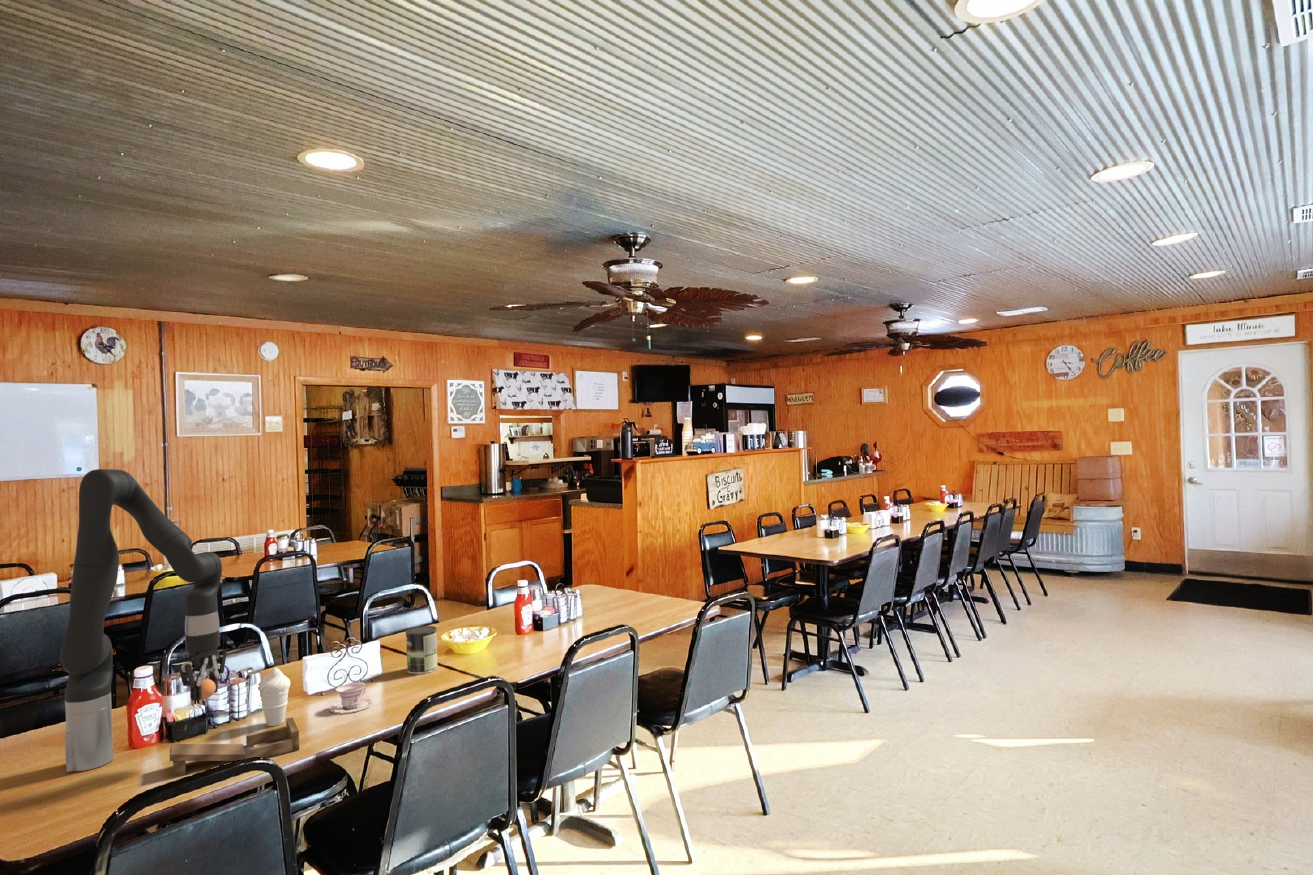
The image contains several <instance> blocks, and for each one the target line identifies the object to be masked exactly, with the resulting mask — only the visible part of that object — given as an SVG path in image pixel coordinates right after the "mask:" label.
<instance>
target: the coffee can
mask: <svg viewBox="0 0 1313 875" xmlns="http://www.w3.org/2000/svg"><path fill="white" fill-rule="evenodd" d="M437 630H438V629H437V627H436V626H432V625H422V626H415V627H411V628H409V629H407V630H405V639H406V660H407V661H406V665H407V667H406V668H407V673H408V674H409V673H410V675H424V674H425V673H426V674H429V672H430V673H432V672H435V671H437V670H438V669H439V667H438V646H437V645H438V642H437V638H438V637H437Z"/></svg>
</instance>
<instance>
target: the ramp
mask: <svg viewBox="0 0 1313 875" xmlns="http://www.w3.org/2000/svg"><path fill="white" fill-rule="evenodd" d="M244 746H245V745H244V744H243V743H242V744H241V743H238V744H237V743H171V745H170V748H169V762H172V765H173V778H176V777H180V776H181V777H182V776H186V773H187V772H186V762H200V761H201V762H204V761H205V762H213V761H214V762H215V761H217V762H218V761H219V762H222V761H223V762H225V761H226V762H229V761H232V762H233V761H234V762H235V761H236V762H238V761H237V760H240V759H243V758H244V759H246V758H245V751H244Z"/></svg>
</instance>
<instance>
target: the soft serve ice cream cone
mask: <svg viewBox="0 0 1313 875" xmlns="http://www.w3.org/2000/svg"><path fill="white" fill-rule="evenodd" d="M260 680H261V682H260V683H259V684H258V685H259V687H258V690H259V691H260V697H261V701H262V703H261V708H262V711H263V714H264V717H265V721H266V725H267V727H276V726H280V725H282V724H284V722H285V720H286V712H287V706H288V704H289V700H288V695H289V691H290V690H289V689H290V686H291V680H290V679H289V677H288V676H286V675H284V674H283V672H282V671H281V670H280V669H279V668H277V667H273V668H272V670H271V672H270V673H269V674H267V675H265V676H264V677H263V678H261V679H260Z"/></svg>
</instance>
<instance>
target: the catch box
mask: <svg viewBox="0 0 1313 875" xmlns="http://www.w3.org/2000/svg"><path fill="white" fill-rule="evenodd" d="M285 720H286V721H285V722H286V723H285V724H286V726H281V727H276V728H272V729H266V730H263V731H257V732H254V733H250V734H249V733H248V734H246V735H245V741H246V742H245V743H246V744H245V745H243V746H244V751H245V758H244V759H246V758H251V757H264V759H269V758H272V757H276V756H280V755H285V754H289V753H292V752H297V751H300V730H299V729H298V726H297V723H296V721H295V720H294V717H293V716H291V717H287V718H285Z"/></svg>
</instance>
